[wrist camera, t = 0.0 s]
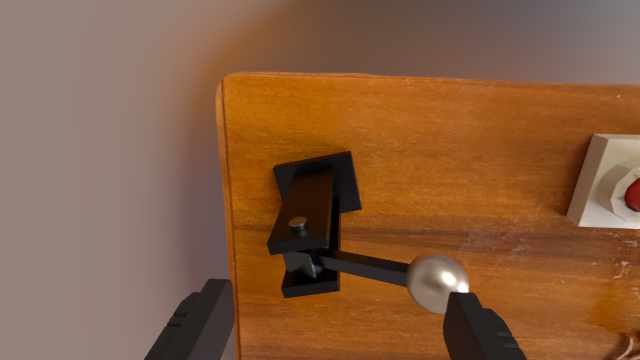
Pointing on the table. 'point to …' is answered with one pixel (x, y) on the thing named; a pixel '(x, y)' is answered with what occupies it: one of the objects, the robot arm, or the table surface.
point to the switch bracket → (313, 215)
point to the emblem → (627, 351)
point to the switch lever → (390, 272)
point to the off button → (633, 195)
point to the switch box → (607, 183)
